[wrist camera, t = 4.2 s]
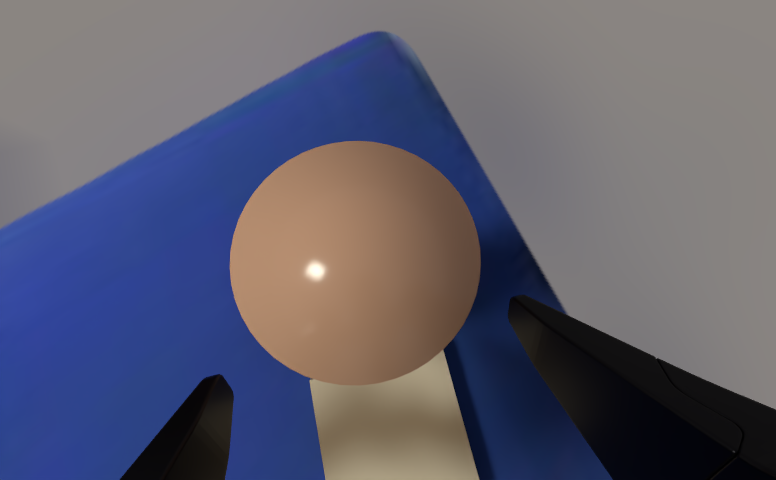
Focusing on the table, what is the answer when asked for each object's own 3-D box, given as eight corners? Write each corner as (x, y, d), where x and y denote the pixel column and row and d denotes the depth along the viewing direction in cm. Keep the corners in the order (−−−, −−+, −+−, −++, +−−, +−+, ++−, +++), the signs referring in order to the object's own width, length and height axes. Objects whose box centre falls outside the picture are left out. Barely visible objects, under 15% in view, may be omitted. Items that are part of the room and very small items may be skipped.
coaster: (478, 487, 16) (483, 495, 15) (338, 537, 15) (337, 549, 14) (438, 342, 18) (441, 343, 17) (312, 377, 17) (309, 380, 16)
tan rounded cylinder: (418, 286, 19) (523, 227, 6) (371, 354, 18) (386, 449, 5) (356, 241, 19) (339, 102, 7) (306, 303, 18) (172, 274, 6)
